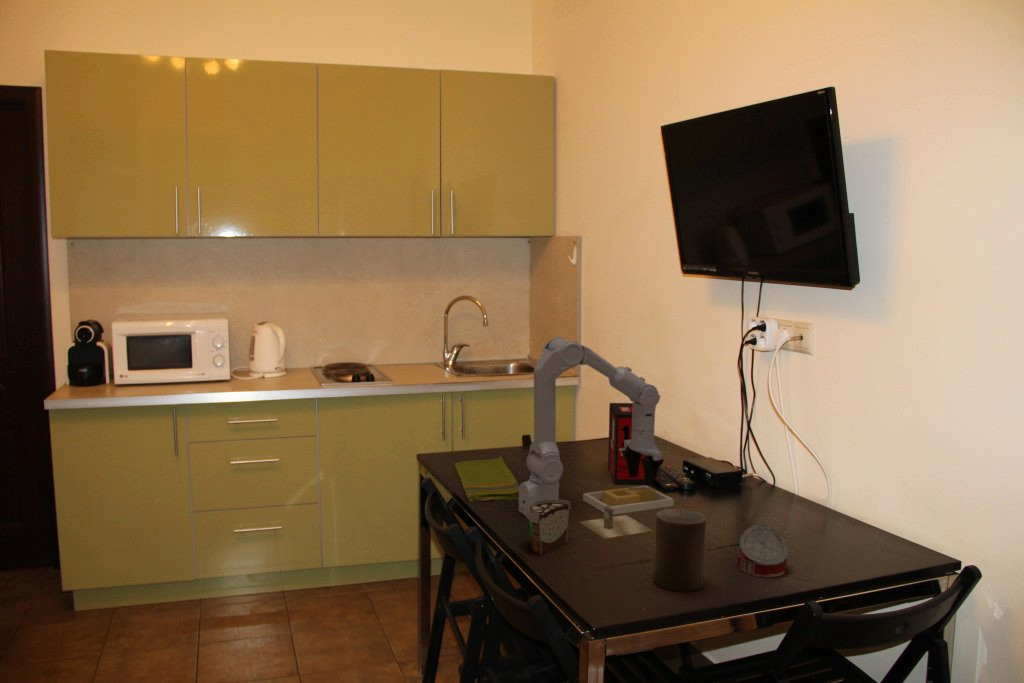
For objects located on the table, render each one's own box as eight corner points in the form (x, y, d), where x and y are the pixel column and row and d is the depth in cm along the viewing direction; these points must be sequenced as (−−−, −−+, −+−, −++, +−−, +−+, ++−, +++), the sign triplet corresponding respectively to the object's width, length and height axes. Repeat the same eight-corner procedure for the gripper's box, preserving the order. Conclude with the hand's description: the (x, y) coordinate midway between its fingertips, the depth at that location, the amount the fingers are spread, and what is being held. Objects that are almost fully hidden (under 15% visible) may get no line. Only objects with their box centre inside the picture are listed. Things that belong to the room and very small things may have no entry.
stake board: (604, 541, 188) (605, 518, 187) (579, 525, 199) (579, 502, 198) (653, 533, 193) (653, 511, 193) (625, 518, 204) (626, 496, 204)
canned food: (781, 587, 176) (807, 551, 172) (760, 597, 168) (786, 560, 165) (740, 550, 182) (763, 515, 179) (718, 558, 175) (742, 522, 171)
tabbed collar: (615, 510, 208) (616, 498, 208) (601, 502, 215) (602, 490, 214) (659, 504, 213) (660, 492, 213) (644, 496, 220) (645, 485, 219)
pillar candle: (679, 596, 160) (683, 520, 158) (643, 579, 167) (646, 506, 166) (713, 585, 165) (717, 511, 164) (676, 568, 173) (680, 499, 171)
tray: (608, 518, 204) (608, 508, 204) (582, 502, 216) (583, 493, 215) (673, 508, 212) (673, 499, 211) (645, 494, 223) (645, 485, 223)
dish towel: (468, 504, 215) (468, 492, 215) (453, 467, 250) (453, 457, 250) (526, 502, 218) (526, 490, 218) (503, 465, 253) (503, 455, 253)
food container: (548, 537, 191) (549, 495, 190) (570, 543, 187) (571, 500, 186) (514, 552, 181) (514, 508, 180) (536, 559, 177) (537, 514, 176)
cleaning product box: (608, 468, 248) (609, 402, 246) (637, 469, 248) (639, 403, 246) (615, 485, 232) (616, 414, 229) (647, 485, 232) (649, 414, 229)
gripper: (672, 434, 208) (670, 486, 210) (640, 422, 221) (639, 472, 223) (648, 436, 205) (646, 490, 207) (618, 424, 218) (616, 474, 220)
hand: (641, 480), depth 215 cm, fingers open, 7 cm apart
